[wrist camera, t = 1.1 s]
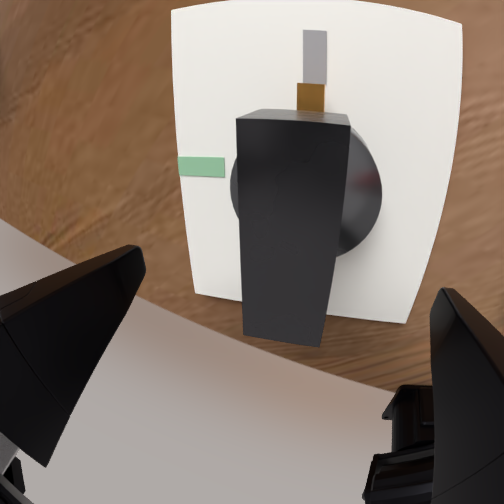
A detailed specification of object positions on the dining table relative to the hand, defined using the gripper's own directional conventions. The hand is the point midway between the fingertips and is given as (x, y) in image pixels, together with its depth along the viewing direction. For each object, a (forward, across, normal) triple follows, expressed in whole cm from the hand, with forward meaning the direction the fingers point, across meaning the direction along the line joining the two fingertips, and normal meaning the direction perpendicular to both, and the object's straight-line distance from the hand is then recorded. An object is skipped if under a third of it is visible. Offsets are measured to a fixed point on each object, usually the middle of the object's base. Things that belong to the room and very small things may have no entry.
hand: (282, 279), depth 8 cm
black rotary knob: (+9, 0, -1) cm, 10 cm away
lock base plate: (+11, 0, 0) cm, 11 cm away
